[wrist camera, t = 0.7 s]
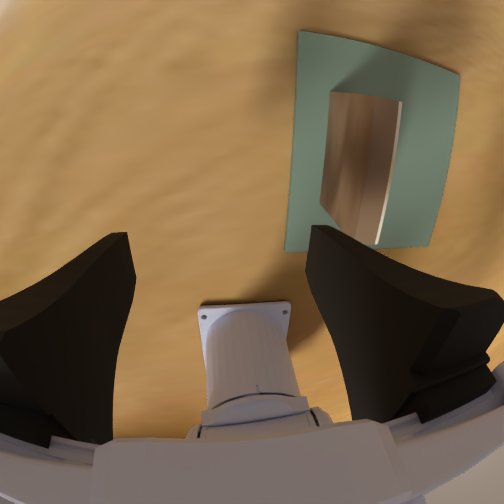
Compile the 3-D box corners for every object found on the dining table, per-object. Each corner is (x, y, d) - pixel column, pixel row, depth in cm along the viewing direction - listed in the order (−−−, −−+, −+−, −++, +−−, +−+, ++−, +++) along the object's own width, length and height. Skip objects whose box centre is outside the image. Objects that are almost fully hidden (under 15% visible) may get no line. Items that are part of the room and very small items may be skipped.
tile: (339, 203, 21) (377, 244, 16) (319, 203, 21) (353, 245, 16) (351, 94, 17) (402, 102, 12) (329, 91, 16) (375, 96, 11)
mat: (425, 244, 24) (428, 246, 24) (284, 249, 23) (285, 252, 22) (457, 75, 16) (460, 75, 16) (297, 31, 15) (299, 30, 14)
